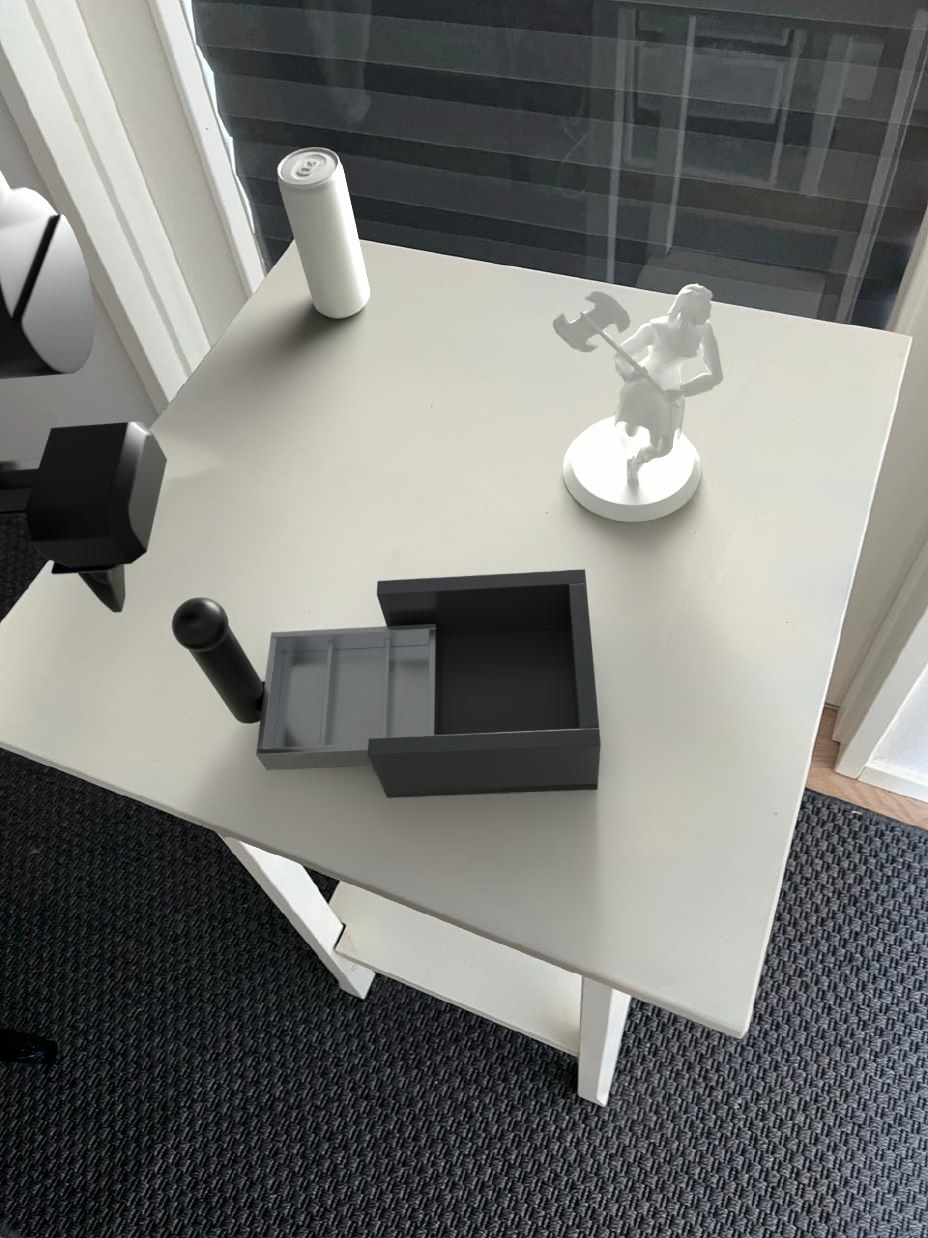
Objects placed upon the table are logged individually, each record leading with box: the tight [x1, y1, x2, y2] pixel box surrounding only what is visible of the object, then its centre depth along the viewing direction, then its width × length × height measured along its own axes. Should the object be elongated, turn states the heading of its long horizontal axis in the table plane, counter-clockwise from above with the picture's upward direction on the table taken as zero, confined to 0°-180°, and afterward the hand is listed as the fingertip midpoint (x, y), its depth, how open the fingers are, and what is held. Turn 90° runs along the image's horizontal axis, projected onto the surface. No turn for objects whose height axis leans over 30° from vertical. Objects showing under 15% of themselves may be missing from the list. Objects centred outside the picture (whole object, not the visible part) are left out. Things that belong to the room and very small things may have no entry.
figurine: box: [552, 282, 724, 523], centre depth 57 cm, size 10×10×18 cm
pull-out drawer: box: [171, 596, 440, 771], centre depth 51 cm, size 13×8×11 cm, turn 90°
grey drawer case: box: [368, 568, 602, 799], centre depth 53 cm, size 12×11×6 cm
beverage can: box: [276, 146, 371, 319], centre depth 72 cm, size 5×5×12 cm
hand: (31, 610), depth 46 cm, fingers open, 9 cm apart
